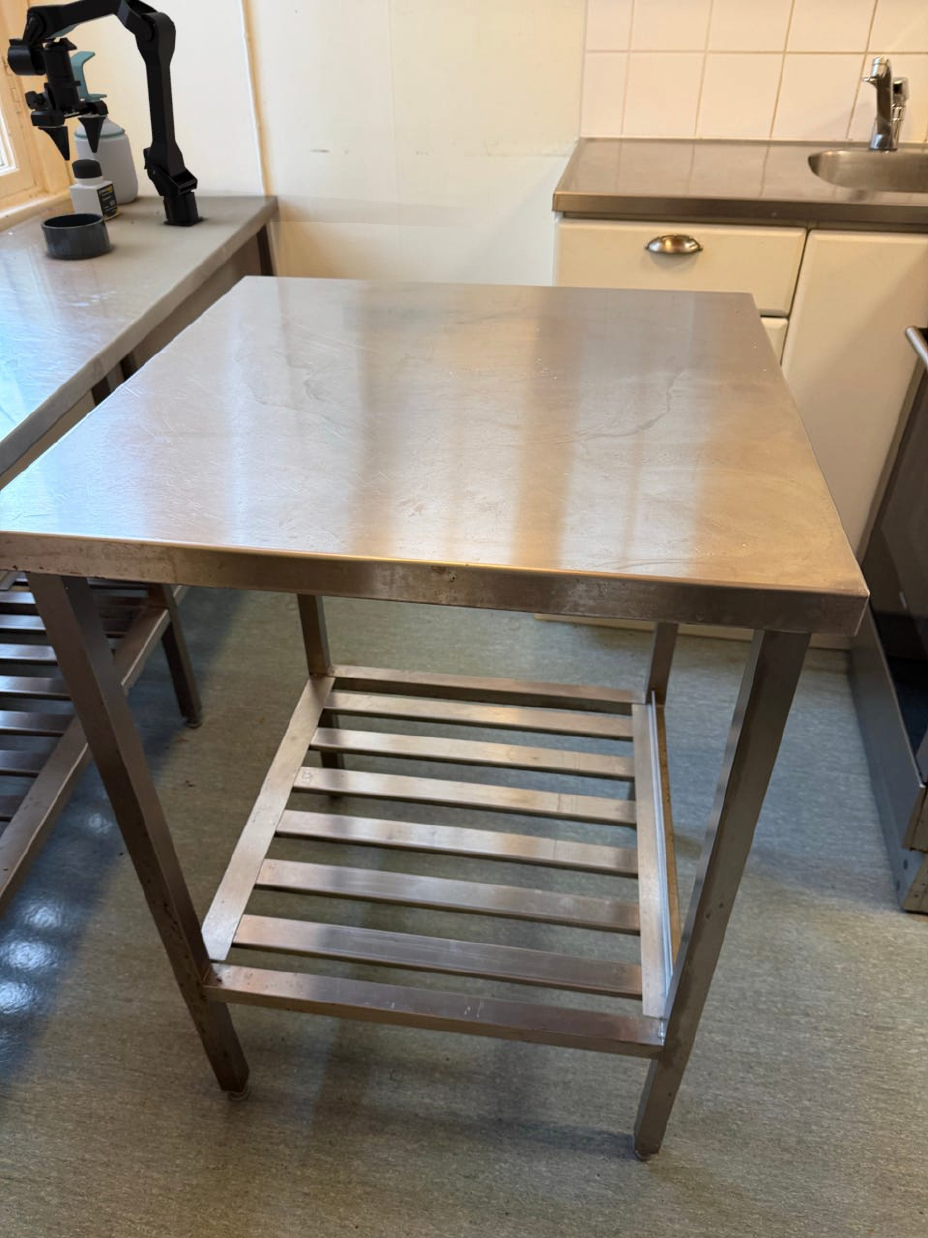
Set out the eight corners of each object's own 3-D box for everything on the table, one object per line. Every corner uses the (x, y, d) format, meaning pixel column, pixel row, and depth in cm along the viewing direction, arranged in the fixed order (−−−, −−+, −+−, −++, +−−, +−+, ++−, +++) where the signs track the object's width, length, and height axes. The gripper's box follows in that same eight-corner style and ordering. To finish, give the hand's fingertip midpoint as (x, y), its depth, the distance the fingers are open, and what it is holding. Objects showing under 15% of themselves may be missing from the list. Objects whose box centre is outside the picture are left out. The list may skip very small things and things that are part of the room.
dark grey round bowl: (123, 245, 188) (116, 215, 184) (85, 261, 179) (77, 230, 175) (76, 241, 191) (68, 211, 188) (36, 256, 182) (27, 225, 179)
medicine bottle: (104, 221, 205) (90, 163, 197) (76, 220, 206) (61, 162, 198) (120, 213, 210) (107, 157, 203) (92, 212, 211) (78, 156, 204)
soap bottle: (152, 197, 223) (121, 50, 204) (116, 208, 214) (80, 55, 195) (115, 192, 227) (81, 48, 208) (78, 203, 219) (40, 53, 200)
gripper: (59, 70, 201) (79, 147, 210) (-1, 80, 187) (23, 163, 196) (100, 70, 198) (118, 149, 207) (41, 81, 184) (64, 165, 193)
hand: (81, 156), depth 201 cm, fingers open, 9 cm apart
